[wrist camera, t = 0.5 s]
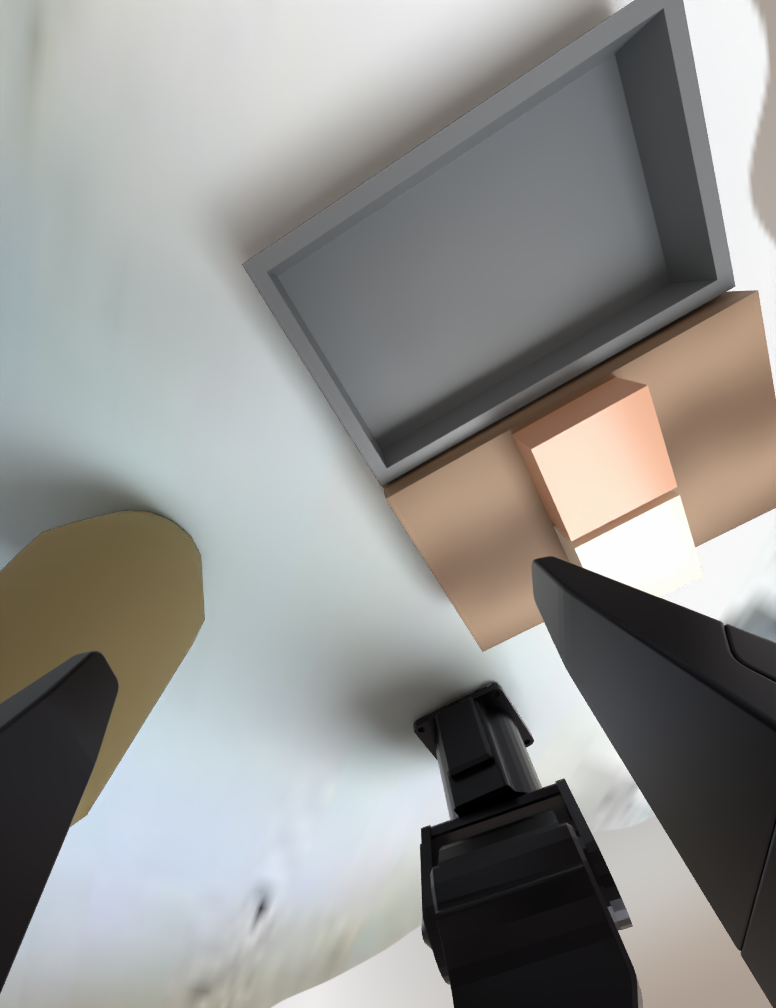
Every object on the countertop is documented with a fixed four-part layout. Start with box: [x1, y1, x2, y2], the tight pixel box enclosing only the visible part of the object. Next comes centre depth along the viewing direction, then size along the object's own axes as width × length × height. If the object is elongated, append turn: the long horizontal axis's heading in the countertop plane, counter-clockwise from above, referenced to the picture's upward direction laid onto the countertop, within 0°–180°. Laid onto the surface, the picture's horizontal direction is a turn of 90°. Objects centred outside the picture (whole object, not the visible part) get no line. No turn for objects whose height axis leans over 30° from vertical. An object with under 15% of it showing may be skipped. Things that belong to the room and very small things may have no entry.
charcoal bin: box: [242, 0, 735, 486], centre depth 18 cm, size 10×16×3 cm, turn 119°
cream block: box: [553, 490, 703, 597], centre depth 19 cm, size 4×4×2 cm
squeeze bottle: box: [0, 510, 205, 827], centre depth 15 cm, size 8×8×18 cm
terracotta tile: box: [512, 377, 677, 541], centre depth 17 cm, size 4×4×2 cm
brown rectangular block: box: [383, 290, 776, 652], centre depth 21 cm, size 10×16×4 cm, turn 120°
